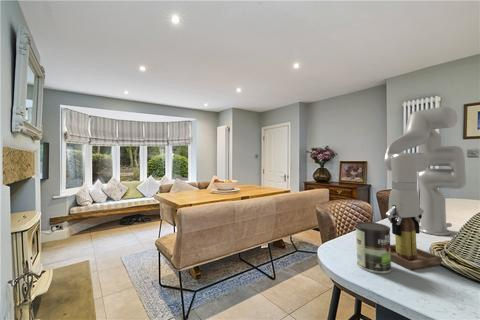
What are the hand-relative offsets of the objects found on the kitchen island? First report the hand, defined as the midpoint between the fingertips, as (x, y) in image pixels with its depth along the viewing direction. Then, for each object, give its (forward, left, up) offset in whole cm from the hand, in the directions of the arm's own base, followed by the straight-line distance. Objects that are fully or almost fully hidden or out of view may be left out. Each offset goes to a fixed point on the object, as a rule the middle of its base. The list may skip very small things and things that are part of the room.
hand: (405, 233), depth 81 cm
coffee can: (+16, +1, -10) cm, 19 cm away
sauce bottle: (0, 0, -9) cm, 9 cm away
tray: (0, 0, -9) cm, 9 cm away
